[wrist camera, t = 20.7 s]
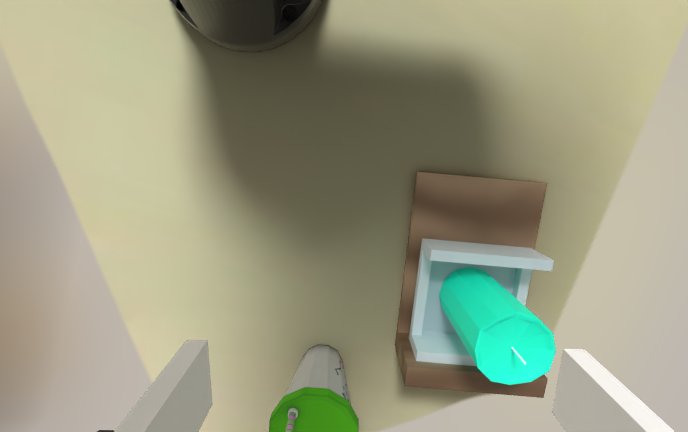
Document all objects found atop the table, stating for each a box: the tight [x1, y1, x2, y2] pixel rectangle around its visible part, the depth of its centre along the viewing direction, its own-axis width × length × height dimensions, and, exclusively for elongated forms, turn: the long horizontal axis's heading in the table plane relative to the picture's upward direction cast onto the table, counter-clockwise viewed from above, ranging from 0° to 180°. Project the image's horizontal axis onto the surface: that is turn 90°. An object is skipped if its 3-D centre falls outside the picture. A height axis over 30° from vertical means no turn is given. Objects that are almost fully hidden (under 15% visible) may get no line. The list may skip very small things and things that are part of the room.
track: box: [395, 172, 547, 398], centre depth 35 cm, size 20×13×7 cm, turn 175°
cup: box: [269, 345, 359, 432], centre depth 33 cm, size 8×8×15 cm
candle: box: [439, 267, 555, 385], centre depth 31 cm, size 6×6×12 cm
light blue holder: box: [409, 238, 554, 366], centre depth 35 cm, size 11×11×5 cm
